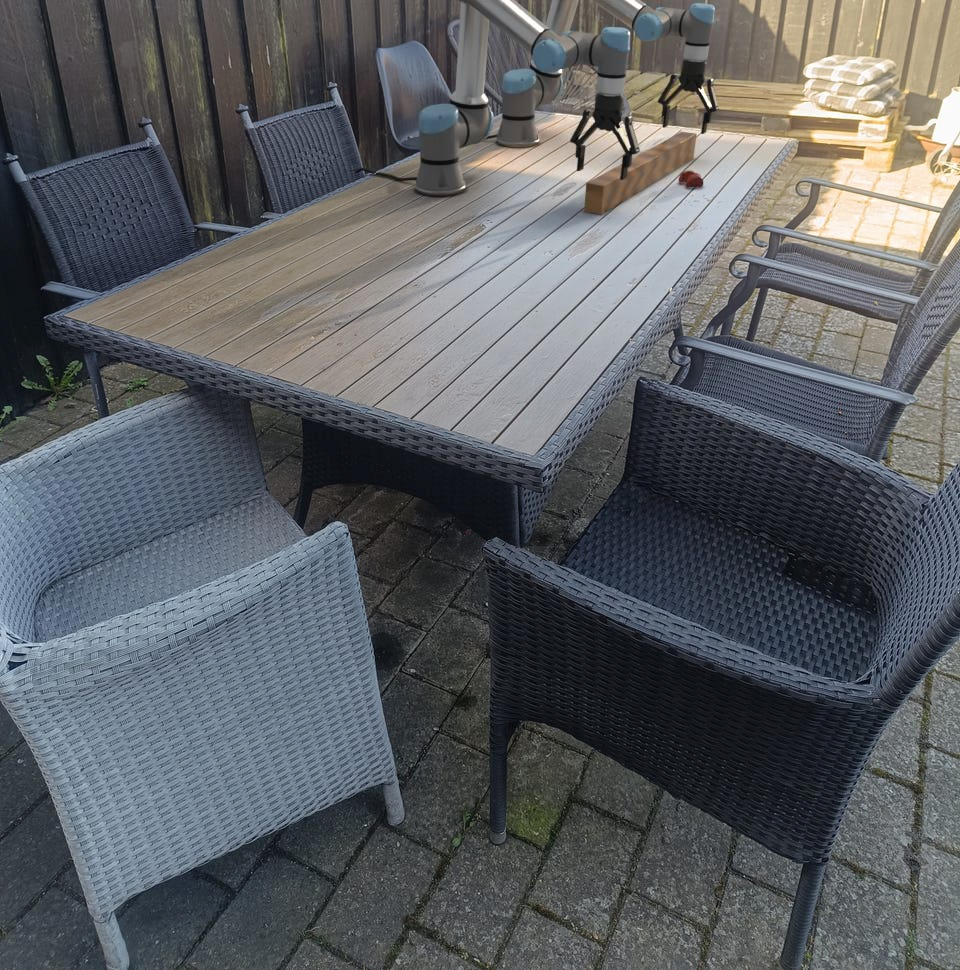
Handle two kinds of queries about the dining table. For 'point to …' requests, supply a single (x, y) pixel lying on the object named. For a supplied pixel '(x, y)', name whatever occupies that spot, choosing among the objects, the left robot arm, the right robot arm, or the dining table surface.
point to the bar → (639, 173)
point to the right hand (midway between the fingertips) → (684, 130)
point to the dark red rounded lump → (691, 179)
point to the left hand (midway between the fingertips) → (601, 174)
